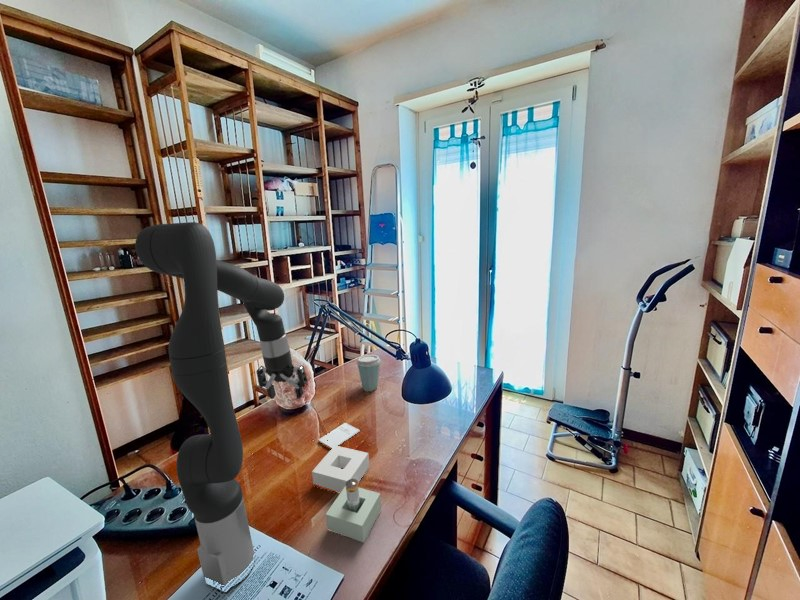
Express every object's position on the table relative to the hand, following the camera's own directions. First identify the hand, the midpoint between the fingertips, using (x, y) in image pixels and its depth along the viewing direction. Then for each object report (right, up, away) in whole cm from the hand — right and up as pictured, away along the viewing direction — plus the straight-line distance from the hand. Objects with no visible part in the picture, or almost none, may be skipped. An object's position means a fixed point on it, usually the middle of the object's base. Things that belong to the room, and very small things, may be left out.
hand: (286, 397), depth 103 cm
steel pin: (+23, -26, -17) cm, 39 cm away
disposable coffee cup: (+22, -10, +49) cm, 55 cm away
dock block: (+18, -23, -2) cm, 29 cm away
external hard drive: (+13, -19, +16) cm, 28 cm away
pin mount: (+23, -26, -17) cm, 39 cm away
